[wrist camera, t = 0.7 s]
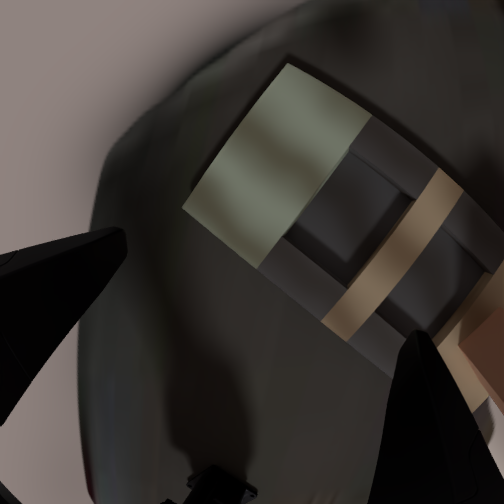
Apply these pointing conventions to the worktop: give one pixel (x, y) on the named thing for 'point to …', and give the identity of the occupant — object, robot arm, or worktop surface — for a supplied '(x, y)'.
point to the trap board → (354, 225)
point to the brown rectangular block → (488, 355)
